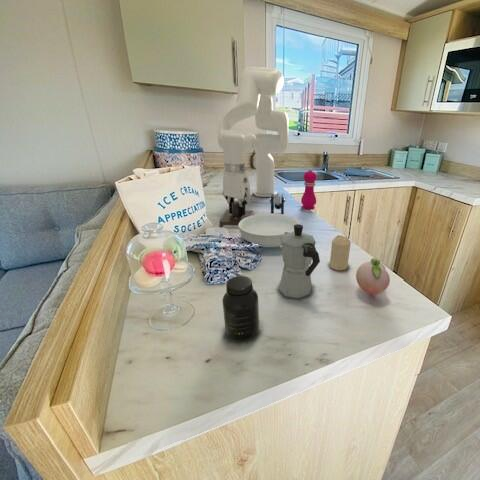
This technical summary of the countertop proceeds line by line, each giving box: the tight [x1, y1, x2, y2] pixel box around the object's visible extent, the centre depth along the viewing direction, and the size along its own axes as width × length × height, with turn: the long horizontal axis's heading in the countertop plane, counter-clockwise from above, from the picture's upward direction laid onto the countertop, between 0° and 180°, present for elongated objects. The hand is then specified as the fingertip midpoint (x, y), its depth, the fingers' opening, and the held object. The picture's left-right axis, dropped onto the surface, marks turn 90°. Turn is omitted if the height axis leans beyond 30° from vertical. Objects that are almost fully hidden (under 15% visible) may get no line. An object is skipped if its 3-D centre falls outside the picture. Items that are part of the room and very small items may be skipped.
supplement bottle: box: [222, 275, 260, 342], centre depth 55 cm, size 7×7×12 cm
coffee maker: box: [278, 223, 321, 300], centre depth 68 cm, size 15×9×18 cm, turn 36°
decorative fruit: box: [355, 257, 391, 295], centre depth 71 cm, size 9×8×10 cm
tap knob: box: [232, 200, 242, 217], centre depth 110 cm, size 4×4×6 cm
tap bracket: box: [269, 194, 286, 215], centre depth 111 cm, size 12×9×12 cm
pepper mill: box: [300, 167, 318, 211], centre depth 128 cm, size 7×7×20 cm
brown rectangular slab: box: [219, 209, 254, 228], centre depth 111 cm, size 14×11×3 cm
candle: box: [329, 234, 351, 271], centre depth 83 cm, size 6×6×10 cm
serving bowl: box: [237, 212, 301, 248], centre depth 96 cm, size 21×21×7 cm
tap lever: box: [274, 195, 281, 210], centre depth 114 cm, size 13×3×3 cm, turn 6°
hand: (237, 213), depth 111 cm, fingers closed on tap knob, 4 cm apart
